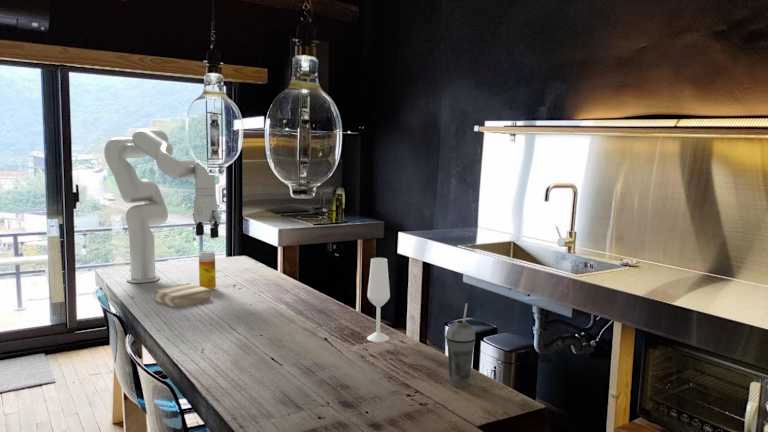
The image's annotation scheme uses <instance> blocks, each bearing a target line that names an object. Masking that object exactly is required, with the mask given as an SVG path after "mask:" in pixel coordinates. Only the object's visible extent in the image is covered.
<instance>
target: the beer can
mask: <svg viewBox="0 0 768 432" xmlns="http://www.w3.org/2000/svg"><path fill="white" fill-rule="evenodd" d="M198 273H199V274H198V280H199V283H198V284H199V286H201V287H204V288H208V289H210V292H212V291H214V290H215V288H216V287H217V286H216V284H217V282H216V281H217V280H216V279H217V278H216V253H215V251H214V250H201V251H199V254H198Z"/></svg>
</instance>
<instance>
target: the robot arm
mask: <svg viewBox="0 0 768 432" xmlns="http://www.w3.org/2000/svg"><path fill="white" fill-rule="evenodd" d="M173 152H174V147H173V145H172V144H171V143H170V142H169V137H168V135H167V133H165V131H163V130H161V129H155V128H154V129H152V128H151V129H150V128H141V129H138V130H136V131H134V133H132V137H129V136H126V137H125V136H123V137H122V136H119V137H113V138H111V139H109V140H108V141H106V143H105V146H104V151H103V153H104V159H105V163H106V164H107V166H108V168H109V170H110V171H111V173H112V175H113V178H114V181H115V183H116V186H117V188H118V190H119V191H118V192H119V193H120V196H121V198H122V200H123V201H124V202H125V203H126V204H134V205H132V206H130V207H129V208H128V209H127V211H126V213H125V222H126V225H127V229H128V238H129V241H128V243H129V244H128V245H129V261H130V262H129V264H130V269H129V273H130V276H127V277H126V281H127V282H128V283H131V284H146V283H153V282H156V281H159V280H160V277H161V276H160V275H159V274H156V250H155V248H156V247H155V236H154V233H153V232H152V230H151V227H155V226H160V225H164V224H165V223H166V222H167V220H168V217H169V212H168V208H167V205H166V203H165V200H164V198H163V195H162V192H161V190H160V187H159V186H158V184H157V183H156V182H155V181H153V180H151V179H140V178H139V177H138V175H137V172H136V169H135V168H134V166H133V165H132V164H131V163H130V162H129V161H128V160H127V159H134V158H135V159H137V158H138V159H139V158H140V159H141V158H146V157H150V158H152V159H153V160H155V163H156V165H157V167H158V170H159V171H161V173H163V174H165V175H166V176H168V177H169V178H171V179H174V180H177V181H180V180H194V188H195V192H194V193H195V196H194V201H193V203H194V204H193V213H192V217H193V222H194V226H195V236H196V237H197V236H204V235H205V226H204V223H207V224H209V225H210V228H209V230H210V235H209V236H210V238H211V239H216V238H219V227H220V224H221V220H222V216H220V214H219V210H218V209H219V208H218V203H217V202H218V201H217V191H216V174H215V175H209V174H208V172H207V170H206V169H205V168H204V167H202V166H201V165H200V164H199V163H198V162H197V161H196V160H197V159H176V158H174V157H173V156H172V155H173ZM137 203H138V204H137ZM139 203H143V204H139ZM135 204H136V205H135Z"/></svg>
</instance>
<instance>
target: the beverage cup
mask: <svg viewBox="0 0 768 432" xmlns="http://www.w3.org/2000/svg"><path fill="white" fill-rule="evenodd" d="M464 305H465V306H464V311H463V312H464V313H463V319H462V320H455V321H454V322H452V323H451V324H450V325H449V326H448V328H447V331H446V333H445V334H446V335H445V339H446V340H445V341H446V346H447V355H448V356H447V358H448V360H447V361H448V373H449V374H448V375H449V376H448V377H449V384H450V385H451V386H452V387H455V388H466V387H468V386H469V383H470V377H471V368H472V361H473V354H474V347H475V343H476V340H477V339H476V332H475V330H474V328H473V326H472V325H471V324H470V323H469V322H467V321H466V316H467V312H468V311H467V309H468V303H467V302H466V303H465V304H464Z"/></svg>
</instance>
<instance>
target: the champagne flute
mask: <svg viewBox="0 0 768 432" xmlns="http://www.w3.org/2000/svg"><path fill="white" fill-rule="evenodd" d="M369 266H370V267H369V277H368V284H367V293H366V294H367V295H366V296H367V298H368V301H369V302H370V303H371V304H372V305H374V307H376V321H375V322H376V323H375V325H376V327H375V329H376V331H375V332H374V333H372V334H370V335H368V336H367V337H366V339H367V340H368V341H370V342H373V343H383V342H387V341H389V340H390V337H389V336H388V335H386V334H385V333H382V332H381V307H383V306H384V305H385V304H386V303H387V302H388V301H389V299H390V297H391V292H390V279H389V266H388V259H387V258H385V257H373V258H370V265H369Z"/></svg>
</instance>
